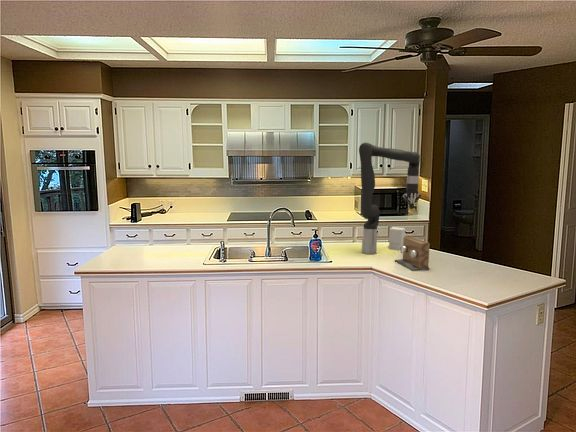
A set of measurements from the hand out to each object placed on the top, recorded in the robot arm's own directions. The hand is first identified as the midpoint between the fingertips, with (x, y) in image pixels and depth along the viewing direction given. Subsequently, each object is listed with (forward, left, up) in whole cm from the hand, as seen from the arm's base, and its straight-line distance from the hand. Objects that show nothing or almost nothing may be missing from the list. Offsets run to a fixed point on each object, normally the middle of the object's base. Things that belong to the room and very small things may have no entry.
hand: (411, 208), depth 287 cm
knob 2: (+10, -29, -25) cm, 40 cm away
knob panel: (+6, -25, -32) cm, 41 cm away
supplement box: (-12, +18, -32) cm, 39 cm away
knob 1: (+2, -20, -25) cm, 32 cm away
